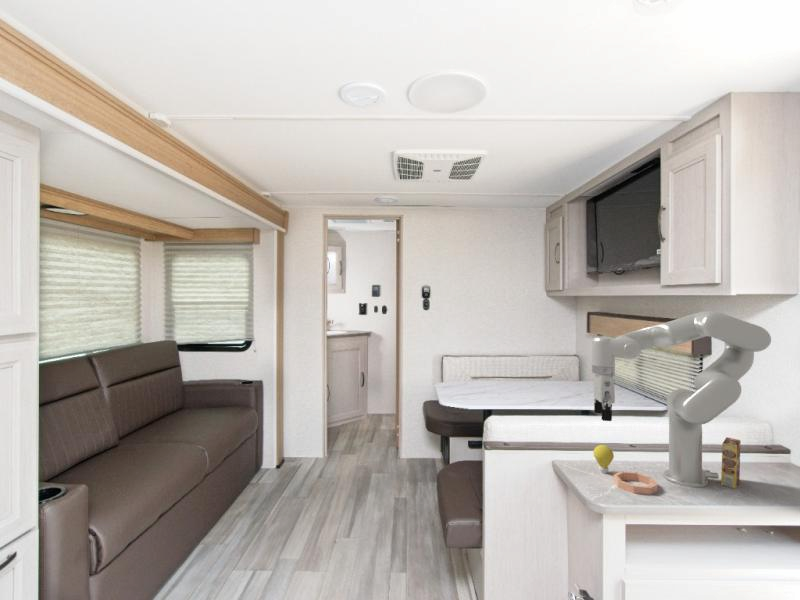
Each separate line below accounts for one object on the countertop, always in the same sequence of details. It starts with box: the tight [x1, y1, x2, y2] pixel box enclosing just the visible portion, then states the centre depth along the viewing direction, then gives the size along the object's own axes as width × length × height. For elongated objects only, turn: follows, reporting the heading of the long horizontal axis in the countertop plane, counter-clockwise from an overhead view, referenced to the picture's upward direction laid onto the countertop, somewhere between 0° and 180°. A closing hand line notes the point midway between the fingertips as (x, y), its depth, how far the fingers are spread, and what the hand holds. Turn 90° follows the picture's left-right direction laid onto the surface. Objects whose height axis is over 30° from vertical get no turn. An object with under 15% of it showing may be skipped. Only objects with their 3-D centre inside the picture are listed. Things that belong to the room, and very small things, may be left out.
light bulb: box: [592, 444, 615, 474], centre depth 148 cm, size 7×7×10 cm
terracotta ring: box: [613, 470, 659, 495], centre depth 136 cm, size 12×12×3 cm
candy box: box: [720, 437, 742, 489], centre depth 138 cm, size 9×4×15 cm, turn 134°
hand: (602, 416), depth 149 cm, fingers open, 9 cm apart
